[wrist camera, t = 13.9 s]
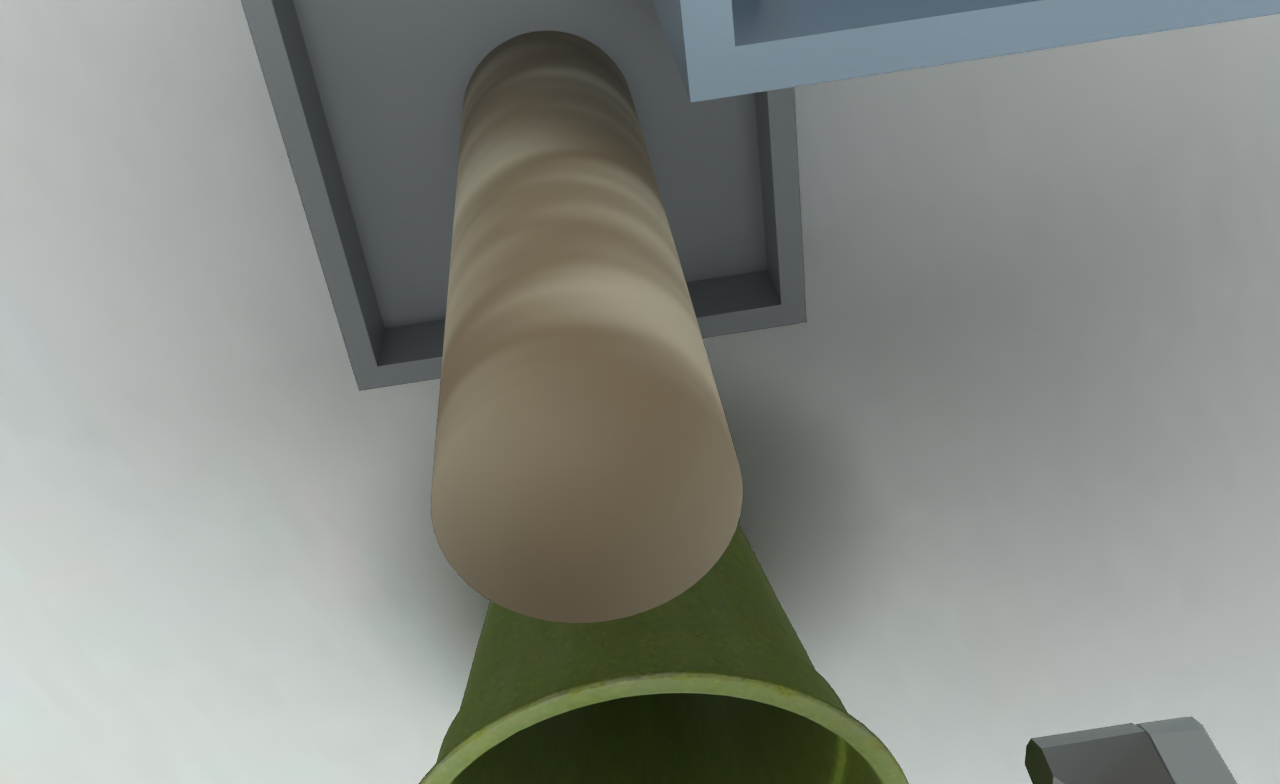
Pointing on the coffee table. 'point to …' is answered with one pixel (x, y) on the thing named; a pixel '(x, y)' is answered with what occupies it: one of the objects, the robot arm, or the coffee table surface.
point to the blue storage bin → (896, 34)
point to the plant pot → (658, 697)
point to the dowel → (572, 355)
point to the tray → (429, 153)
